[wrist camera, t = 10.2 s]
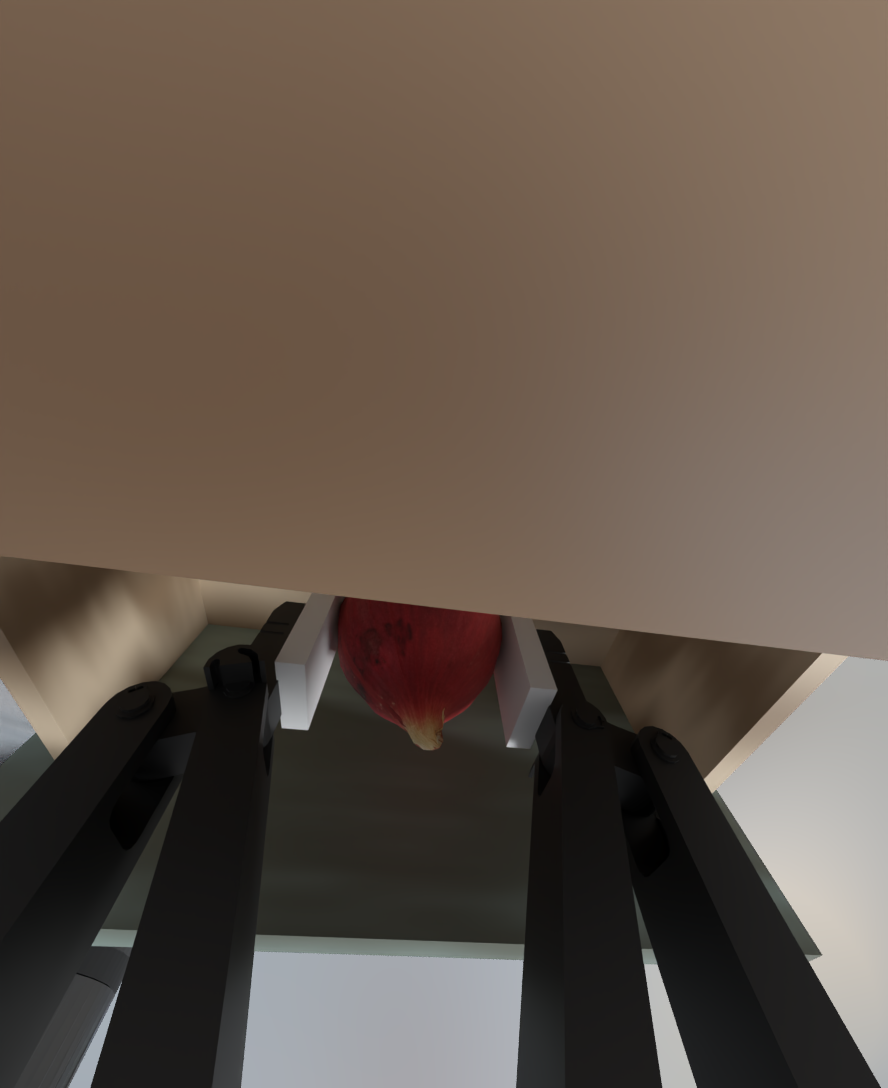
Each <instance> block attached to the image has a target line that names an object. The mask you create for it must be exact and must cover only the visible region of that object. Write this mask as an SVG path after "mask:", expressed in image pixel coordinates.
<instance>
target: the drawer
mask: <svg viewBox="0 0 888 1088" xmlns="http://www.w3.org/2000/svg"><path fill="white" fill-rule="evenodd" d="M311 594H312V593H310V592H302V591H293V590H285V589H276V588H268V587H259V586H251V585H242V584H234V583H226V582H217V581H209V580H200V579H192V578H183V577H175V576H166V575H158V574H149V573H141V572H133V571H124V570H116V569H107V568H99V567H90V566H82V565H73V564H65V563H57V562H48V561H40V560H31V559H23V558H14V557H6V556H0V678H1V680H2V681H3V683H4V684H5V686H6V688H7V689H8V691H9V692H10V694H11V695H12V697H13V698H14V700H15V701H16V703H17V704H18V706H19V707H20V709H21V710H22V712H23V713H24V715H25V716H26V718H27V719H28V721H29V722H30V724H31V725H32V727H33V729H34V730H35V732H36V733H35V734H34V735H33V736H32V737H31V738H30V739H29V740H28V741H26V742H25V743H24V744H23V745H22V746H21V747H20V748H19V749H18V750H17V751H16V752H15V753H14V754H12V755H11V756H10V757H9V758H8V759H7V760H6V761H5V762H4V763H3V764H2V765H1V766H0V822H1V820H2V819H3V818H4V817H5V816H6V815H7V814H8V813H9V811H10V810H11V809H12V808H13V807H14V806H15V805H16V803H17V802H18V801H19V800H20V799H21V798H22V797H23V796H24V794H25V793H26V792H27V791H28V790H29V789H30V788H31V787H32V785H33V784H34V783H35V782H36V781H37V780H38V779H39V777H40V776H41V775H42V774H43V773H44V772H45V771H46V770H47V768H48V767H49V766H50V765H51V764H52V763H53V762H54V761H55V759H56V758H57V757H58V756H59V755H60V754H61V753H62V751H63V750H64V749H65V748H66V747H67V746H68V745H69V744H70V742H71V741H72V740H73V739H74V738H75V737H76V736H77V734H78V733H79V732H80V731H81V730H82V729H83V728H84V727H85V725H86V724H87V723H88V722H89V721H90V720H91V719H92V718H93V716H94V715H95V714H96V713H97V712H98V711H99V710H100V708H101V707H102V706H103V705H104V704H105V703H106V702H107V701H108V700H109V699H111V698H112V697H113V696H114V695H115V694H117V693H118V692H120V691H122V690H124V689H126V688H127V687H130V686H133V685H136V684H139V683H142V682H150V681H157V682H162V683H165V684H166V685H167V686H168V687H170V688H171V692H172V693H173V692H179V691H185V690H191V689H197V688H202V687H206V686H207V682H206V678H205V673H204V669H203V667H204V665H205V664H206V662H207V660H208V659H209V658H210V657H212V656H213V655H214V654H215V653H216V652H218V651H220V650H222V649H225V648H227V647H230V646H234V645H239V644H243V645H251V644H252V642H253V641H254V639H255V638H256V636H257V635H258V633H260V630H261V629H262V627H263V625H264V624H265V623H266V621H267V619H268V618H269V616H270V615H271V613H272V612H273V610H274V609H276V608H277V607H279V606H280V605H281V604H283V603H284V602H286V601H289V602H297V603H307V601H308V599H309V598H310V596H311ZM532 620H533V623H534V625H535V628H536V629H540V630H549V631H552V632H553V633H554V634H555V635H556V637H557V638H558V639H559V640H560V641H561V643H562V645H563V647H564V650H565V652H566V655H567V657H568V659H569V661H570V665H571V666H572V668H573V671H574V673H575V675H576V678H577V680H578V682H579V685H580V687H581V689H582V692H583V694H584V696H585V699H586V701H587V702H589V703H591V704H593V705H594V706H595V707H596V708H597V709H599V710H600V711H601V713H602V714H603V715H604V717H605V718H606V721H607V722H608V723H611V724H613V725H615V726H617V727H620V728H622V729H625V730H628V731H630V732H633V733H635V734H638V732H639V731H640V730H641V729H642V728H643V727H645V726H654V727H657V728H660V729H663V730H665V731H666V732H668V733H670V734H671V735H673V736H674V737H675V738H676V739H677V740H678V741H679V742H681V743H682V745H683V746H684V747H685V749H686V750H687V751H688V753H689V755H690V756H691V758H692V760H693V762H694V763H695V765H696V767H697V769H698V770H699V772H700V774H701V775H702V777H703V779H704V781H705V782H706V784H707V786H708V788H709V789H710V791H711V793H712V795H713V796H714V798H715V800H716V802H717V803H718V805H719V807H720V809H721V810H722V812H723V814H724V815H725V817H726V819H727V821H728V822H729V824H730V826H731V828H732V829H733V831H734V833H735V835H736V836H737V838H738V840H739V842H740V843H741V845H742V847H743V849H744V850H745V852H746V854H747V856H748V857H749V859H750V861H751V862H752V864H753V866H754V868H755V869H756V871H757V873H758V875H759V876H760V878H761V880H762V882H763V883H764V885H765V887H766V889H767V890H768V892H769V894H770V896H771V897H772V899H773V901H774V902H775V904H776V906H777V908H778V909H779V911H780V913H781V915H782V916H783V918H784V920H785V922H786V923H787V925H788V927H789V929H790V930H791V932H792V934H793V936H794V937H795V939H796V941H797V943H798V944H799V946H800V948H801V949H802V951H803V953H804V955H805V956H806V958H807V960H808V962H809V961H811V960H813V959H815V958H817V957H820V956H822V954H821V952H820V951H819V949H818V948H817V946H816V944H815V943H814V942H813V940H812V938H811V937H810V935H809V934H808V932H807V931H806V929H805V927H804V926H803V924H802V923H801V921H800V919H799V918H798V916H797V915H796V913H795V912H794V910H793V909H792V907H791V905H790V904H789V902H788V901H787V899H786V898H785V896H784V895H783V893H782V891H781V890H780V888H779V887H778V885H777V884H776V882H775V880H774V879H773V878H772V876H771V874H770V873H769V871H768V870H767V868H766V866H765V865H764V863H763V862H762V860H761V859H760V857H759V855H758V854H757V852H756V851H755V849H754V848H753V846H752V845H751V843H750V841H749V840H748V838H747V837H746V835H745V834H744V832H743V830H742V829H741V827H740V826H739V824H738V823H737V821H736V820H735V818H734V816H733V815H732V813H731V812H730V810H729V809H728V807H727V805H726V804H725V802H724V801H723V799H722V798H721V796H720V795H719V793H718V791H717V790H716V789H717V788H718V787H719V786H720V785H721V784H722V783H723V782H724V781H725V780H726V779H727V778H728V777H729V776H730V775H731V774H732V773H733V772H734V771H735V770H736V769H737V768H738V767H739V766H740V765H741V764H742V763H743V762H744V761H745V760H746V759H747V758H748V757H749V756H750V755H751V754H752V753H753V752H754V751H755V750H756V749H757V748H758V747H759V746H760V745H761V744H762V743H763V742H764V741H765V740H766V739H767V738H768V737H769V736H770V735H771V734H772V733H773V732H774V731H775V730H776V729H777V728H778V727H779V726H780V725H781V724H782V723H783V722H784V721H785V720H786V719H787V718H788V717H789V716H790V715H791V714H792V713H793V712H794V710H796V709H797V708H798V707H799V706H800V704H802V703H803V702H804V700H806V699H807V698H808V697H809V696H810V695H811V694H812V693H813V691H814V690H816V689H817V687H819V686H820V685H821V683H823V681H825V679H826V678H827V677H828V676H829V675H830V674H831V673H832V672H833V671H834V670H835V669H836V668H837V667H838V666H839V665H840V664H841V663H842V662H843V661H844V660H845V659H846V658H847V657H848V656H842V655H834V654H825V653H817V652H809V651H800V650H792V649H783V648H775V647H766V646H758V645H749V644H741V643H732V642H724V641H716V640H707V639H699V638H690V637H682V636H673V635H665V634H656V633H648V632H640V631H631V630H623V629H614V628H606V627H597V626H589V625H580V624H572V623H563V622H555V621H547V620H538V619H532ZM442 735H443V743H442V745H441V747H440V748H439V749H435V750H423V749H422V748H420V747H418V746H416V745H415V744H414V743H413V741H412V739H411V737H410V735H409V733H408V732H406V731H405V730H404V729H402V728H401V727H399V726H398V725H397V724H395V723H393V722H390V721H388V720H386V719H384V718H382V717H381V716H379V715H378V714H376V713H375V712H374V711H373V710H372V709H371V707H370V706H369V705H368V704H367V702H366V701H365V700H364V699H363V698H362V697H361V696H360V695H359V694H358V693H357V692H356V691H355V690H354V688H353V687H352V686H351V684H350V683H349V682H348V680H347V679H346V677H345V675H344V673H343V670H342V668H341V666H340V660H339V654H338V647H337V650H336V653H335V656H334V658H333V661H332V664H331V667H330V670H329V673H328V675H327V678H326V681H325V684H324V687H323V690H322V692H321V695H320V698H319V701H318V704H317V707H316V709H315V712H314V715H313V718H312V721H311V724H310V726H309V729H308V730H299V729H287V728H282V727H281V717H280V719H279V722H278V724H277V726H276V728H275V731H274V741H275V743H274V753H273V763H272V774H271V784H270V794H269V804H268V814H267V825H266V835H265V845H264V855H263V866H262V876H261V886H260V896H259V906H258V917H257V927H256V937H255V947H254V951H262V952H263V951H264V952H294V953H325V954H354V955H355V954H356V955H385V956H416V957H418V956H419V957H446V958H477V959H478V958H479V959H507V960H509V959H510V960H524V944H525V927H526V910H527V893H528V875H529V858H530V841H531V824H532V806H533V789H534V775H533V777H532V778H530V777H528V775H529V772H530V769H531V767H532V765H533V763H534V761H535V759H536V757H537V755H538V753H539V750H538V746H537V742H536V738H535V740H534V742H533V744H532V746H531V748H530V749H525V748H513V747H506V742H505V736H504V730H503V724H502V718H501V713H500V707H499V701H498V695H497V689H496V684H495V678H494V672H493V675H492V676H491V678H490V680H489V682H488V684H487V685H486V686H485V688H484V689H483V690H482V691H481V692H480V694H479V695H478V696H477V697H476V699H475V700H474V701H473V702H472V704H471V705H470V706H469V707H468V708H467V709H466V710H464V711H463V712H462V713H460V714H459V715H457V716H455V717H454V718H452V719H450V720H449V721H447V722H445V723H444V724H443V729H442ZM181 782H182V781H181ZM181 782H180V784H179V786H178V788H177V790H176V792H175V793H174V795H173V797H172V799H171V801H170V803H169V804H168V806H167V808H166V810H165V812H164V814H163V815H162V817H161V819H160V821H159V823H158V825H157V826H156V828H155V830H154V832H153V834H152V836H151V837H150V839H149V841H148V843H147V845H146V847H145V848H144V850H143V852H142V854H141V856H140V858H139V859H138V861H137V863H136V865H135V867H134V869H133V870H132V872H131V874H130V876H129V878H128V880H127V881H126V883H125V885H124V887H123V889H122V891H121V892H120V894H119V896H118V898H117V900H116V902H115V903H114V905H113V907H112V909H111V911H110V913H109V914H108V916H107V918H106V920H105V922H104V924H103V925H102V927H101V929H100V931H99V933H98V935H97V936H96V938H95V940H94V942H93V944H92V946H108V947H133V943H134V940H135V937H136V933H137V930H138V926H139V923H140V920H141V916H142V913H143V910H144V906H145V903H146V900H147V896H148V893H149V890H150V886H151V883H152V879H153V876H154V873H155V869H156V866H157V863H158V859H159V856H160V853H161V849H162V846H163V842H164V839H165V836H166V832H167V829H168V826H169V822H170V819H171V816H172V812H173V809H174V806H175V802H176V799H177V795H178V792H179V789H180V785H181ZM632 887H633V886H632ZM633 894H634V901H635V907H636V914H637V921H638V928H639V934H640V941H641V948H642V955H643V961H644V964H657V961H656V958H655V955H654V952H653V949H652V946H651V942H650V939H649V936H648V933H647V930H646V927H645V924H644V921H643V918H642V914H641V911H640V908H639V905H638V902H637V899H636V896H635V893H634V890H633Z"/></svg>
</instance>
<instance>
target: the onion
mask: <svg viewBox="0 0 888 1088" xmlns="http://www.w3.org/2000/svg"><path fill="white" fill-rule="evenodd" d="M501 641H502V623H501V619H500V615H496V614H487V613H479V612H471V611H462V610H454V609H445V608H437V607H428V606H420V605H411V604H403V603H394V602H386V601H378V600H369V599H361V598H352V597H345V599H344V600H343V602H342V604H341V606H340V611H339V620H338V654H339V660H340V666H341V668H342V670H343V673H344V675H345V677H346V679H347V680H348V682H349V683H350V684H351V686H352V687H353V688H354V690H355V691H356V692H357V693H358V694H359V695H360V696H361V697H362V698H363V699H364V700H365V701H366V702H367V704H368V705H369V706H370V707H371V709H372V710H373V711H374V712H375V713H376V714H378V715H379V716H381V717H382V718H384V719H386V720H388V721H390V722H393V723H395V724H397V725H398V726H399V727H401V728H402V729H404V730H405V731H406V732H408V733H409V735H410V737H411V739H412V741H413V743H414V744H415V745H416V746H418V747H420V748H422V749H423V750H435V749H439V748H440V747H441V745H442V743H443V735H442V729H443V724H444V723H445V722H447V721H449V720H450V719H452V718H454V717H455V716H457V715H459V714H460V713H462V712H463V711H464V710H466V709H467V708H468V707H469V706H470V705H471V704H472V702H473V701H474V700H475V699H476V697H477V696H478V695H479V694H480V692H481V691H482V690H483V689H484V688H485V686H486V685H487V684H488V682H489V680H490V678H491V676H492V675H493V672H494V668H495V665H496V662H497V658H498V655H499V651H500V646H501Z"/></svg>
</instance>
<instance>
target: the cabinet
mask: <svg viewBox="0 0 888 1088" xmlns="http://www.w3.org/2000/svg"><path fill="white" fill-rule="evenodd" d="M0 556H6V557H14V558H23V559H31V560H40V561H48V562H57V563H65V564H73V565H82V566H90V567H99V568H107V569H116V570H124V571H133V572H141V573H149V574H158V575H166V576H175V577H183V578H192V579H200V580H209V581H217V582H226V583H234V584H242V585H251V586H259V587H268V588H276V589H285V590H293V591H302V592H310V593H318V594H327V595H335V596H344V597H352V598H361V599H369V600H378V601H386V602H394V603H403V604H411V605H420V606H428V607H437V608H445V609H454V610H462V611H471V612H479V613H487V614H496V615H504V616H513V617H521V618H530V619H538V620H547V621H555V622H563V623H572V624H580V625H589V626H597V627H606V628H614V629H623V630H631V631H640V632H648V633H656V634H665V635H673V636H682V637H690V638H699V639H707V640H716V641H724V642H732V643H741V644H749V645H758V646H766V647H775V648H783V649H792V650H800V651H809V652H817V653H825V654H834V655H842V656H851V657H860V658H869V659H877V660H885V661H888V0H0Z"/></svg>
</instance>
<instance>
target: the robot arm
mask: <svg viewBox="0 0 888 1088" xmlns="http://www.w3.org/2000/svg"><path fill="white" fill-rule="evenodd" d="M344 599H345V597H344V596H335V595H327V594H318V593H312V594H311V596H310V598H309V599H308V601H307V603H297V602H289V601H286V602H284V603H283V604H281V605H280V606H279V607H277V608H276V609H274V610H273V612H272V613H271V615H270V616H269V618H268V619H267V621H266V623H265V624H264V625H263V627H262V629H261V630H260V633H258V635H257V636H256V638H255V639H254V641H253V642H252V644H251V645H243V644H239V645H234V646H230V647H227V648H225V649H222V650H220V651H218V652H216V653H215V654H214V655H213V656H212V657H210V658H209V659H208V660H207V662H206V664H205V665H204V667H203V669H204V673H205V678H206V682H207V686H206V687H202V688H197V689H191V690H185V691H179V692H173V693H172V692H171V688H170V687H168V686H167V685H166V684H165V683H162V682H157V681H150V682H142V683H139V684H136V685H133V686H130V687H127V688H126V689H124V690H122V691H120V692H118V693H117V694H115V695H114V696H113V697H112V698H111V699H109V700H108V701H107V702H106V703H105V704H104V705H103V706H102V707H101V708H100V710H99V711H98V712H97V713H96V714H95V715H94V716H93V718H92V719H91V720H90V721H89V722H88V723H87V724H86V725H85V727H84V728H83V729H82V730H81V731H80V732H79V733H78V734H77V736H76V737H75V738H74V739H73V740H72V741H71V742H70V744H69V745H68V746H67V747H66V748H65V749H64V750H63V751H62V753H61V754H60V755H59V756H58V757H57V758H56V759H55V761H54V762H53V763H52V764H51V765H50V766H49V767H48V768H47V770H46V771H45V772H44V773H43V774H42V775H41V776H40V777H39V779H38V780H37V781H36V782H35V783H34V784H33V785H32V787H31V788H30V789H29V790H28V791H27V792H26V793H25V794H24V796H23V797H22V798H21V799H20V800H19V801H18V802H17V803H16V805H15V806H14V807H13V808H12V809H11V810H10V811H9V813H8V814H7V815H6V816H5V817H4V818H3V819H2V820H1V822H0V1088H68V1086H69V1085H70V1083H71V1081H72V1079H73V1077H74V1075H75V1073H76V1071H77V1069H78V1067H79V1065H80V1063H81V1061H82V1059H83V1057H84V1055H85V1053H86V1051H87V1050H88V1048H89V1046H90V1043H91V1042H92V1039H93V1038H94V1036H95V1034H96V1032H97V1030H98V1028H99V1026H100V1024H101V1022H102V1020H103V1018H104V1016H105V1014H106V1012H107V1010H108V1008H109V1006H110V1004H111V1002H112V1000H113V998H114V996H115V994H116V992H117V990H118V988H119V986H120V984H121V982H122V984H121V987H120V990H119V994H118V997H117V1000H116V1004H115V1007H114V1010H113V1014H112V1017H111V1021H110V1024H109V1027H108V1031H107V1034H106V1037H105V1041H104V1044H103V1047H102V1051H101V1054H100V1057H99V1061H98V1064H97V1068H96V1071H95V1074H94V1078H93V1081H92V1084H91V1088H241V1080H242V1070H243V1060H244V1049H245V1038H246V1029H247V1019H248V1009H249V998H250V988H251V977H252V967H253V957H254V947H255V937H256V927H257V917H258V906H259V896H260V886H261V876H262V866H263V855H264V845H265V835H266V825H267V814H268V804H269V794H270V784H271V774H272V763H273V753H274V743H275V741H274V731H275V728H276V726H277V724H278V722H279V719H280V717H281V727H282V728H287V729H299V730H308V729H309V726H310V724H311V721H312V718H313V715H314V712H315V709H316V707H317V704H318V701H319V698H320V695H321V692H322V690H323V687H324V684H325V681H326V678H327V675H328V673H329V670H330V667H331V664H332V661H333V658H334V656H335V653H336V650H337V647H338V620H339V611H340V606H341V604H342V602H343V600H344ZM500 619H501V623H502V641H501V646H500V651H499V655H498V658H497V662H496V665H495V668H494V678H495V684H496V689H497V695H498V701H499V707H500V713H501V718H502V724H503V730H504V736H505V742H506V747H513V748H525V749H530V748H531V746H532V744H533V742H534V740H535V738H536V742H537V746H538V750H539V753H538V755H537V757H536V759H535V761H534V763H533V765H532V767H531V769H530V772H529V775H528V777H530V778H532V777H533V775H534V789H533V806H532V824H531V841H530V858H529V875H528V893H527V910H526V927H525V944H524V962H523V979H522V996H521V997H522V998H521V1015H520V1031H519V1048H518V1065H517V1083H516V1088H662V1083H661V1077H660V1070H659V1063H658V1056H657V1049H656V1042H655V1036H654V1029H653V1022H652V1015H651V1009H650V1002H649V996H648V988H647V982H646V975H645V969H644V961H643V955H642V948H641V941H640V934H639V928H638V921H637V914H636V907H635V901H634V894H633V890H634V893H635V896H636V899H637V902H638V905H639V908H640V911H641V914H642V918H643V921H644V924H645V927H646V930H647V933H648V936H649V939H650V942H651V946H652V949H653V952H654V955H655V958H656V961H657V964H658V967H659V970H660V973H661V976H662V979H663V983H664V986H665V989H666V992H667V995H668V998H669V1002H670V1004H671V1008H672V1011H673V1014H674V1017H675V1020H676V1023H677V1026H678V1029H679V1033H680V1036H681V1039H682V1042H683V1045H684V1048H685V1051H686V1055H687V1058H688V1061H689V1064H690V1067H691V1070H692V1073H693V1076H694V1079H695V1083H696V1086H697V1088H881V1087H880V1085H879V1083H878V1082H877V1080H876V1078H875V1077H874V1075H873V1073H872V1071H871V1070H870V1068H869V1066H868V1064H867V1063H866V1061H865V1059H864V1057H863V1056H862V1054H861V1052H860V1051H859V1049H858V1047H857V1045H856V1044H855V1042H854V1040H853V1038H852V1036H851V1035H850V1033H849V1031H848V1030H847V1028H846V1026H845V1024H844V1023H843V1021H842V1019H841V1018H840V1016H839V1014H838V1012H837V1010H836V1009H835V1007H834V1005H833V1003H832V1002H831V1000H830V998H829V997H828V995H827V993H826V991H825V989H824V988H823V986H822V984H821V983H820V981H819V979H818V978H817V976H816V974H815V972H814V970H813V969H812V967H811V965H810V963H809V962H808V960H807V958H806V956H805V955H804V953H803V951H802V949H801V948H800V946H799V944H798V943H797V941H796V939H795V937H794V936H793V934H792V932H791V930H790V929H789V927H788V925H787V923H786V922H785V920H784V918H783V916H782V915H781V913H780V911H779V909H778V908H777V906H776V904H775V902H774V901H773V899H772V897H771V896H770V894H769V892H768V890H767V889H766V887H765V885H764V883H763V882H762V880H761V878H760V876H759V875H758V873H757V871H756V869H755V868H754V866H753V864H752V862H751V861H750V859H749V857H748V856H747V854H746V852H745V850H744V849H743V847H742V845H741V843H740V842H739V840H738V838H737V836H736V835H735V833H734V831H733V829H732V828H731V826H730V824H729V822H728V821H727V819H726V817H725V815H724V814H723V812H722V810H721V809H720V807H719V805H718V803H717V802H716V800H715V798H714V796H713V795H712V793H711V791H710V789H709V788H708V786H707V784H706V782H705V781H704V779H703V777H702V775H701V774H700V772H699V770H698V769H697V767H696V765H695V763H694V762H693V760H692V758H691V756H690V755H689V753H688V751H687V750H686V749H685V747H684V746H683V745H682V743H681V742H679V741H678V740H677V739H676V738H675V737H674V736H673V735H671V734H670V733H668V732H666V731H665V730H663V729H660V728H657V727H654V726H645V727H643V728H642V729H641V730H640V731H639V732H638V734H635V733H633V732H630V731H628V730H625V729H622V728H620V727H617V726H615V725H613V724H611V723H608V722H607V721H606V718H605V717H604V715H603V714H602V713H601V711H600V710H599V709H597V708H596V707H595V706H594V705H593V704H591V703H589V702H587V701H586V699H585V696H584V694H583V692H582V689H581V687H580V685H579V682H578V680H577V678H576V675H575V673H574V671H573V668H572V666H571V665H570V661H569V659H568V657H567V655H566V652H565V650H564V647H563V645H562V643H561V641H560V640H559V639H558V638H557V637H556V635H555V634H554V633H553V632H552V631H549V630H540V629H536V628H535V625H534V623H533V620H532V619H530V618H521V617H513V616H504V615H500ZM181 781H182V782H181ZM180 782H181V785H180V789H179V792H178V795H177V799H176V802H175V806H174V809H173V812H172V816H171V819H170V822H169V826H168V829H167V832H166V836H165V839H164V842H163V846H162V849H161V853H160V856H159V859H158V863H157V866H156V869H155V873H154V876H153V879H152V883H151V886H150V890H149V893H148V896H147V900H146V903H145V906H144V910H143V913H142V916H141V920H140V923H139V926H138V930H137V933H136V937H135V940H134V943H133V947H108V946H92V944H93V942H94V940H95V938H96V936H97V935H98V933H99V931H100V929H101V927H102V925H103V924H104V922H105V920H106V918H107V916H108V914H109V913H110V911H111V909H112V907H113V905H114V903H115V902H116V900H117V898H118V896H119V894H120V892H121V891H122V889H123V887H124V885H125V883H126V881H127V880H128V878H129V876H130V874H131V872H132V870H133V869H134V867H135V865H136V863H137V861H138V859H139V858H140V856H141V854H142V852H143V850H144V848H145V847H146V845H147V843H148V841H149V839H150V837H151V836H152V834H153V832H154V830H155V828H156V826H157V825H158V823H159V821H160V819H161V817H162V815H163V814H164V812H165V810H166V808H167V806H168V804H169V803H170V801H171V799H172V797H173V795H174V793H175V792H176V790H177V788H178V786H179V784H180ZM632 886H633V887H632Z"/></svg>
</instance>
